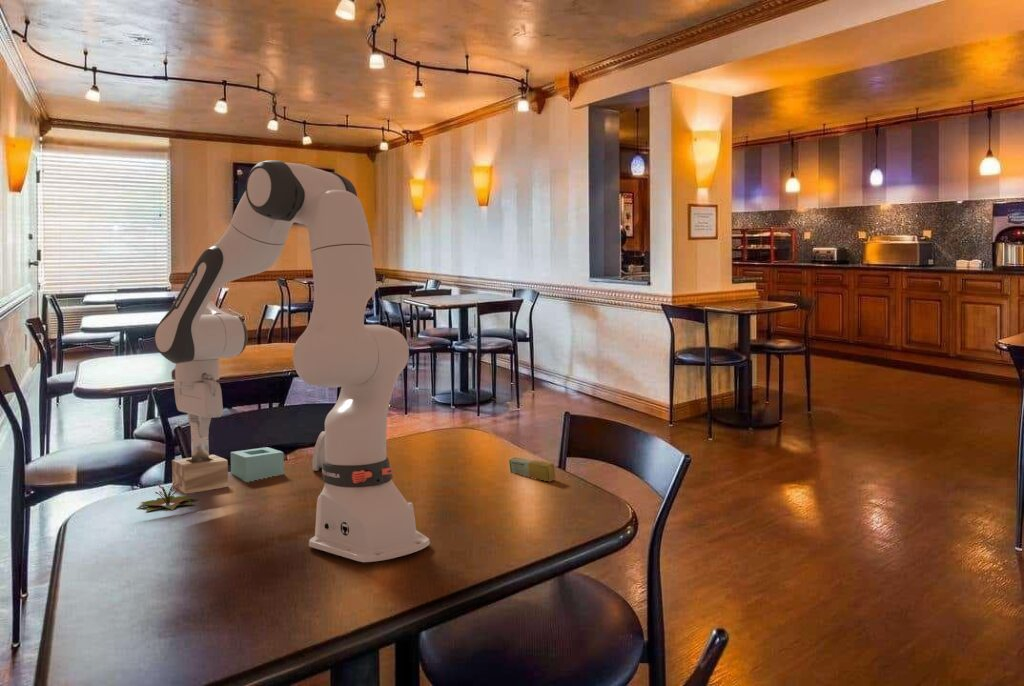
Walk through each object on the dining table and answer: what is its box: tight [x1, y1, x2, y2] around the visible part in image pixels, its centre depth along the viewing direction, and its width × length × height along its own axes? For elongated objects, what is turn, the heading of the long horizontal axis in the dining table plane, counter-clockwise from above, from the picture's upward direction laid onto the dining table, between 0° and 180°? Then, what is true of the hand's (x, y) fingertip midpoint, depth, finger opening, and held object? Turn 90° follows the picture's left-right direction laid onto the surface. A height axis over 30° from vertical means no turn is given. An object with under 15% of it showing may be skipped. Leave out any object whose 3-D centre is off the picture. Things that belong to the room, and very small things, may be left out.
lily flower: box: [137, 482, 197, 513], centre depth 141 cm, size 12×12×5 cm
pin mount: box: [171, 454, 229, 495], centre depth 155 cm, size 9×9×6 cm
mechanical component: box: [311, 430, 325, 472], centre depth 169 cm, size 10×4×10 cm, turn 179°
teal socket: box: [230, 446, 285, 483], centre depth 164 cm, size 9×9×6 cm
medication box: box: [508, 456, 556, 483], centre depth 161 cm, size 12×3×4 cm, turn 48°
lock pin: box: [190, 421, 210, 463], centre depth 155 cm, size 4×4×9 cm
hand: (199, 434), depth 155 cm, fingers closed on lock pin, 3 cm apart
